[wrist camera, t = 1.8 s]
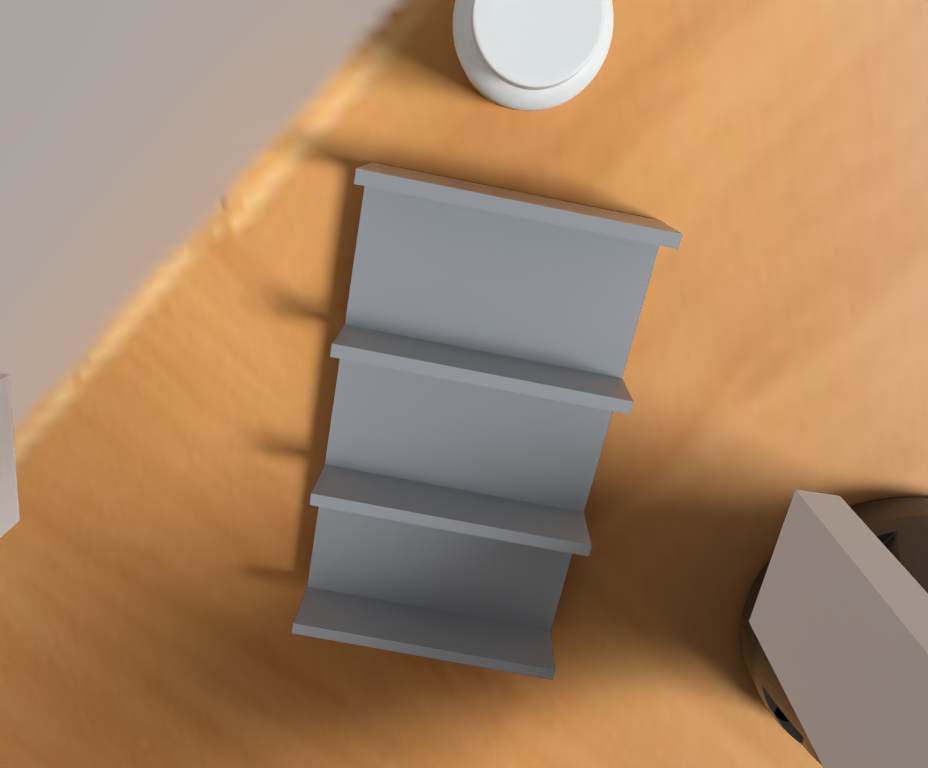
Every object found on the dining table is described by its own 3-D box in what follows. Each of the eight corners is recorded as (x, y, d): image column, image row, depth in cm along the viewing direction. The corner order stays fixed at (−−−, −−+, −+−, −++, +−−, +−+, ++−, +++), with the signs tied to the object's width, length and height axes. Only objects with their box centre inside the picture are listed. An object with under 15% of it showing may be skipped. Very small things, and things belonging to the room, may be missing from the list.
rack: (659, 220, 33) (682, 234, 29) (546, 625, 41) (552, 679, 37) (371, 161, 33) (355, 168, 29) (310, 582, 40) (291, 633, 36)
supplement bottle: (436, 13, 31) (414, -30, 22) (553, -57, 30) (581, -132, 21) (495, 135, 32) (498, 142, 23) (609, 72, 31) (658, 54, 22)
